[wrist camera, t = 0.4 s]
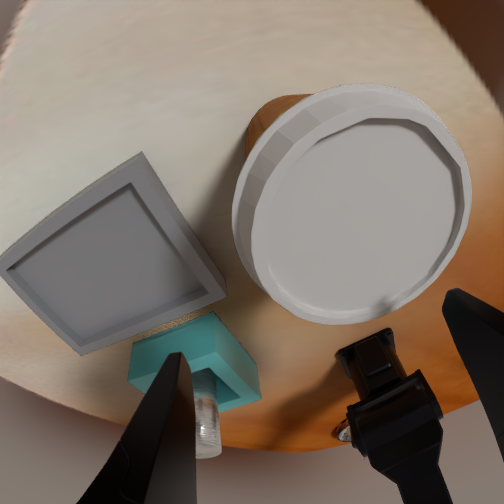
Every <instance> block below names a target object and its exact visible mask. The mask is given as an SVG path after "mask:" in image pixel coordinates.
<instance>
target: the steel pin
mask: <svg viewBox="0 0 504 504" xmlns="http://www.w3.org/2000/svg"><path fill="white" fill-rule="evenodd" d="M191 374H192V384H193V393H194V402H195V412H196V458H211V457H215V456H217V455H219V454H220V453H221V452H222V449H221V438H220V427H219V415H218V402H217V388H216V374H215V373H214V372H213V371H212V370H211V369H210V368H209V367H208V368H205V369H202V370H199V371H196V372H193V373H191Z"/></svg>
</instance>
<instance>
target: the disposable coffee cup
mask: <svg viewBox="0 0 504 504" xmlns="http://www.w3.org/2000/svg"><path fill="white" fill-rule="evenodd" d="M471 196H472V185H471V180H470V175H469V170H468V166H467V162H466V159H465V155H464V154H463V152H462V150H461V148H460V147H459V145H458V143H457V141H456V140H455V138H454V137H453V136H452V135H451V133H450V132H449V131H448V129H447V128H446V126H445V125H444V123H443V122H442V121H441V119H440V118H439V117H438V115H437V114H436V113H435V112H434V111H432V110H431V109H430V108H429V107H428V106H427V105H426V104H425V103H423V102H422V101H421V100H419V99H418V98H416V97H414V96H413V95H411V94H409V93H407V92H404V91H402V90H399V89H396V88H394V87H389V86H384V85H378V84H373V83H361V84H350V85H340V86H336V87H333V88H330V89H327V90H324V91H321V92H318V93H316V94H302V95H287V96H282V97H279V98H276V99H273V100H271V101H270V102H268V103H266V104H265V105H264V106H263V107H262V108H260V109H259V110H258V112H257V113H256V114H255V116H254V117H253V118H252V120H251V122H250V124H249V126H248V130H247V134H246V151H245V163H244V165H243V167H242V168H241V170H240V174H239V177H238V180H237V184H236V189H235V193H234V197H233V203H232V230H233V236H234V242H235V247H236V250H237V252H238V255H239V257H240V260H241V262H242V264H243V266H244V267H245V269H246V271H247V273H248V274H249V276H250V277H251V278H252V279H253V280H254V281H255V283H256V284H257V285H258V286H259V287H260V288H261V289H262V290H264V291H265V292H266V293H267V294H269V295H270V296H271V298H272V299H273V300H274V301H275V302H276V303H278V304H279V305H280V306H281V307H283V308H284V309H286V310H287V311H289V312H290V313H292V314H294V315H295V316H297V317H299V318H302V319H305V320H308V321H311V322H315V323H321V324H327V325H340V324H354V323H360V322H365V321H369V320H372V319H375V318H378V317H381V316H383V315H385V314H388V313H390V312H392V311H394V310H397V309H398V308H400V307H402V306H403V305H405V304H406V303H408V302H409V301H411V300H413V299H414V298H416V297H417V296H418V295H419V294H421V293H422V292H423V291H424V290H425V289H426V288H427V287H428V286H429V285H430V284H431V283H433V282H434V281H435V280H436V279H437V278H438V276H439V275H440V274H441V272H442V271H443V270H444V268H445V267H446V266H447V264H448V263H449V262H450V260H451V259H452V257H453V256H454V254H455V252H456V250H457V248H458V246H459V244H460V242H461V239H462V237H463V235H464V232H465V230H466V228H467V223H468V219H469V214H470V209H471Z"/></svg>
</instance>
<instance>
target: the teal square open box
mask: <svg viewBox="0 0 504 504" xmlns="http://www.w3.org/2000/svg"><path fill="white" fill-rule="evenodd" d="M172 352H182V353H183V354H184V356H185V358H186V360H187V362H188V364H189V366H190V369H191V373H193V372H196V371H199V370H202V369H205V368H208V367H209V368H210V369H211V370H212V371H213V372H214V373H215V374H216V388H217V402H218V412H222V411H225V410H229V409H232V408H235V407H239V406H242V405H245V404H249V403H252V402H255V401H258V400H261V399H262V396H261V390H260V385H259V379H258V373H257V367H256V363H255V362H254V361H253V359H252V358H251V357H250V356H249V355H248V353H247V352H246V351H245V350H244V349H243V347H242V346H241V345H240V344H239V343H238V341H237V340H236V339H235V338H234V336H233V335H232V334H231V333H230V331H229V330H228V329H227V328H226V326H225V325H224V324H223V323H222V321H221V320H220V319H219V318H218V316H217V315H216V314H215V313H214V311H213V312H211V313H208V314H206V315H203V316H201V317H198V318H196V319H193V320H191V321H189V322H186V323H184V324H181V325H179V326H176V327H174V328H171V329H169V330H166V331H163V332H161V333H158V334H156V335H153V336H151V337H148V338H146V339H143V340H140V341H138V342H135V343H133V348H132V354H131V360H130V367H129V374H128V382H129V383H131V384H132V385H133V386H135V387H136V388H137V389H138V390H140V391H141V392H143V393H144V394H146V392H147V390H148V389H149V387H150V385H151V383H152V382H153V380H154V378H155V376H156V375H157V373H158V371H159V370H160V368H161V366H162V364H163V363H164V361H165V359H166V357H167V356H168V354H169V353H172Z"/></svg>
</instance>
